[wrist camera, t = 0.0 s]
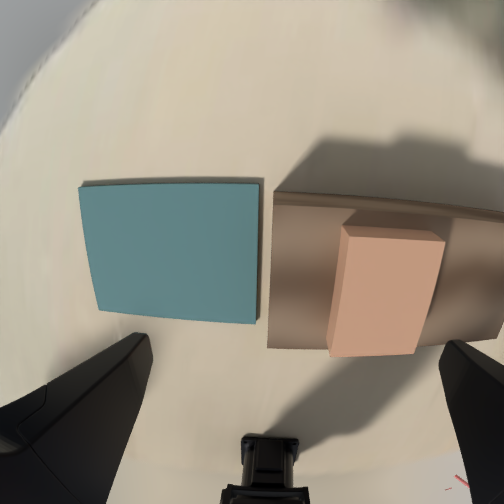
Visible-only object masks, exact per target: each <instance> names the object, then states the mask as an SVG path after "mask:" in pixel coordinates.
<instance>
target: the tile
mask: <svg viewBox="0 0 504 504" xmlns="http://www.w3.org/2000/svg"><path fill="white" fill-rule="evenodd" d="M444 247H445V241H444V240H442V239H441V238H440V237H439V236H437V235H436V234H435V233H433V232H432V231H426V230H412V229H398V228H382V227H366V226H348V225H342V228H341V237H340V246H339V255H338V263H337V270H336V278H335V285H334V292H333V299H332V305H331V312H330V318H329V324H328V330H327V336H326V340H327V345H328V350H329V355H330V357H353V356H382V355H401V354H414V352H415V349H416V346H417V343H418V340H419V337H420V334H421V332H422V328H423V325H424V322H425V319H426V316H427V313H428V309H429V306H430V303H431V299H432V296H433V292H434V288H435V285H436V281H437V277H438V273H439V269H440V265H441V260H442V256H443V252H444Z"/></svg>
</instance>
